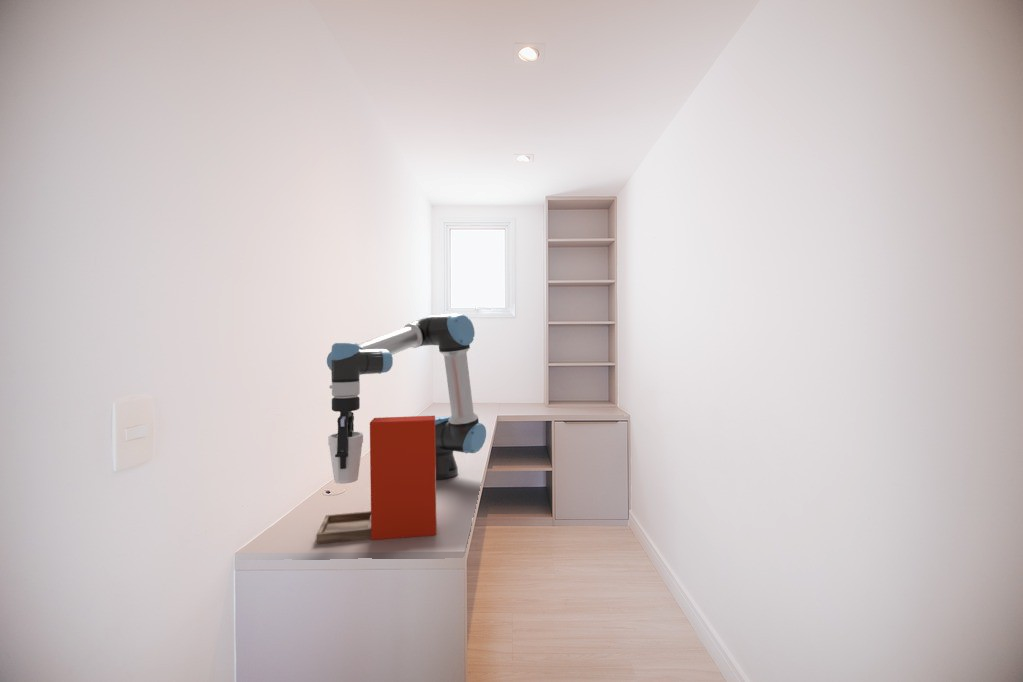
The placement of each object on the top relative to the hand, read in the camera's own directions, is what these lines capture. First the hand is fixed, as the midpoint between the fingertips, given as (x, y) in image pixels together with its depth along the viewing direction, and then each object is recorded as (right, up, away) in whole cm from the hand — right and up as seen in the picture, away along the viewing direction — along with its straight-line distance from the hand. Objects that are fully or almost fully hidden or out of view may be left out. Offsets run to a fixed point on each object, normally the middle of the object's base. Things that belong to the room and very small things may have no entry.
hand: (346, 474), depth 128 cm
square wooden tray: (+1, -16, 0) cm, 16 cm away
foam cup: (0, -2, 0) cm, 2 cm away
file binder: (+17, -16, -2) cm, 24 cm away
